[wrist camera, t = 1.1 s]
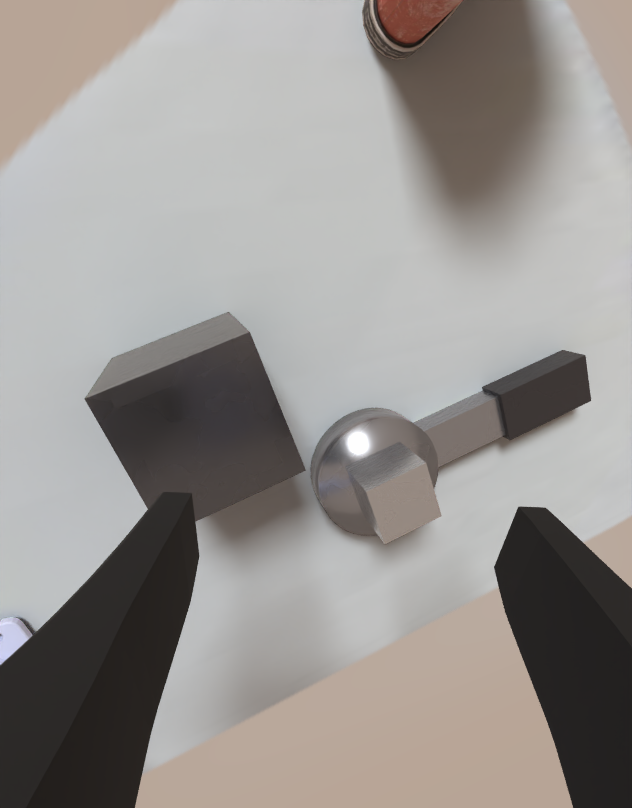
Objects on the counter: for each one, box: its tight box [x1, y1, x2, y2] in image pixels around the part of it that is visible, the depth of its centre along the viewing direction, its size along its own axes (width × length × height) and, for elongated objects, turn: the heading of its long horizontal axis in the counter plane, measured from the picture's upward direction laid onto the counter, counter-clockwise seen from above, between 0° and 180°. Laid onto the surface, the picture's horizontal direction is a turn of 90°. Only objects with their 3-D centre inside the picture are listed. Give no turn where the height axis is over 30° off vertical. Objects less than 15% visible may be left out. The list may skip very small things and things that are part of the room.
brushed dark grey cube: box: [85, 312, 305, 521], centre depth 17 cm, size 5×5×6 cm
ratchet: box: [311, 350, 591, 544], centre depth 22 cm, size 15×6×4 cm, turn 110°
